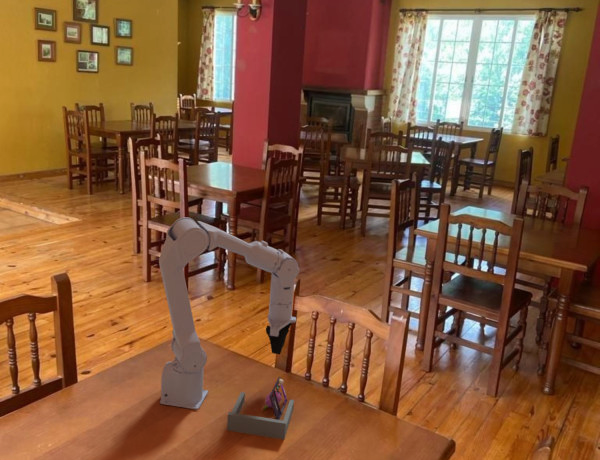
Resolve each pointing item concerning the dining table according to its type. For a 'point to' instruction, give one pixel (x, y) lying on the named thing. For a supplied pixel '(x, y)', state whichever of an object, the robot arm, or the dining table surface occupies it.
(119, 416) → the dining table surface
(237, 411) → the frame
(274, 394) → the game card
